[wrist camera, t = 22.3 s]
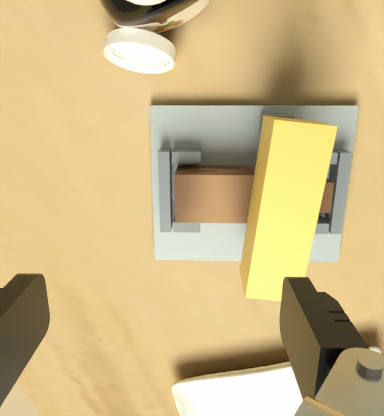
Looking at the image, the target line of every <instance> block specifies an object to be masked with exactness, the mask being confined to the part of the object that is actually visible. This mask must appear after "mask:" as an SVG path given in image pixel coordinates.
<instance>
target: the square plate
mask: <svg viewBox="0 0 384 416" xmlns="http://www.w3.org/2000/svg"><path fill="white" fill-rule="evenodd" d="M368 348H369V349H370V350H373V351H376V352H378V353H381V354H382V352H381V349H380V348H379V347H376V346H374V347H368ZM172 393H173V397H174V400H175V403H176V406H177V409H178V412H179V415H180V416H294V414H295V413H296V411H297V409H298V408H299V406H300V404H301V403H302V401H303V399H302V396H301V393H300V390H299V387H298V384H297V381H296V378H295V375H294V372H293V370H292V367H291V364H290V361H289V362H284V363H279V364H274V365H268V366H262V367H256V368H250V369H244V370H237V371H229V372H221V373H214V374H208V375H202V376H197V377H192V378H188V379H184V380H180V381H177V382H176V383H175V384H173V385H172Z"/></svg>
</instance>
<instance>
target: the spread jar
mask: <svg viewBox="0 0 384 416" xmlns="http://www.w3.org/2000/svg"><path fill="white" fill-rule="evenodd" d="M100 1H101V3H102V5H103V7H104V8H105V10H106V12H107V14H108V15H109V17H110V18H111V19H112V21H113V22H114V23H115V24H116V25H117V26H119V27H120V28H119V29H115V30H112V31H110V32H109V33H108V34H107V35H106V37H105V44H104V55H105V57H106V58H107V59H108V60H109V61H111V62H112V63H114V64H116V65H117V66H120V67H122V68H125V69H128V70H131V71H135V72H140V73H151V74H155V73H164V72H167V71H169V70H171V69H172V68H173V67H174V64H175V55H176V49H175V47H174V45H173V44H172V43H171V42H170V41H169V40H168V39H166V38H164V37H163V36H161V35H159V34H156V33H159V32H164V31H167V30H170V29H173V28H176V27H178V26H180V25H182V24H184V23H185V22H187V21H189V20H190V19H192V18H193V17H195V16H196V15H197V14H199V13H200V12H201V11H202V10H203V9H204V8H205V7H206V6H207V4H208V3H209V1H210V0H100Z"/></svg>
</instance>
